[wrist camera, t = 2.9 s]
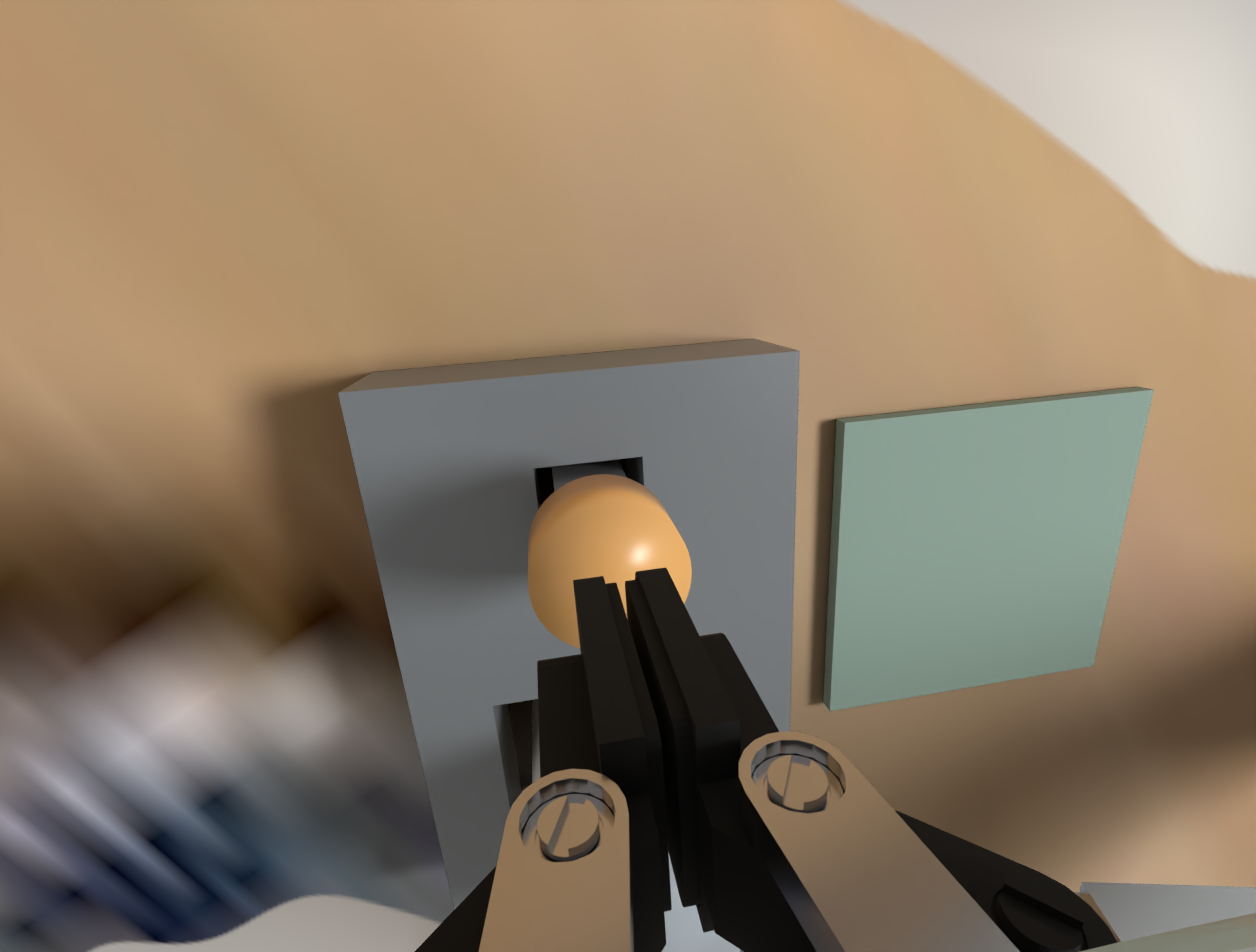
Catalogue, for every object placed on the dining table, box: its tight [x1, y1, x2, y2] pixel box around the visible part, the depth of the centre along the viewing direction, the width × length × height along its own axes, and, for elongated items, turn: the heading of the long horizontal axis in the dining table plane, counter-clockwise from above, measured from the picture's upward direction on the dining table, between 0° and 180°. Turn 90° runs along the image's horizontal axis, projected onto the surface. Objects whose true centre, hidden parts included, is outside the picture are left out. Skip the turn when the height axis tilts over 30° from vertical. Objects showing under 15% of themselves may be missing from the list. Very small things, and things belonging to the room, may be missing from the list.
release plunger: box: [528, 460, 692, 648], centre depth 16 cm, size 4×4×6 cm
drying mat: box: [823, 387, 1154, 711], centre depth 23 cm, size 12×12×1 cm
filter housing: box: [338, 339, 800, 910], centre depth 20 cm, size 12×19×4 cm, turn 4°
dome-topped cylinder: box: [532, 699, 740, 952], centre depth 19 cm, size 6×6×9 cm
